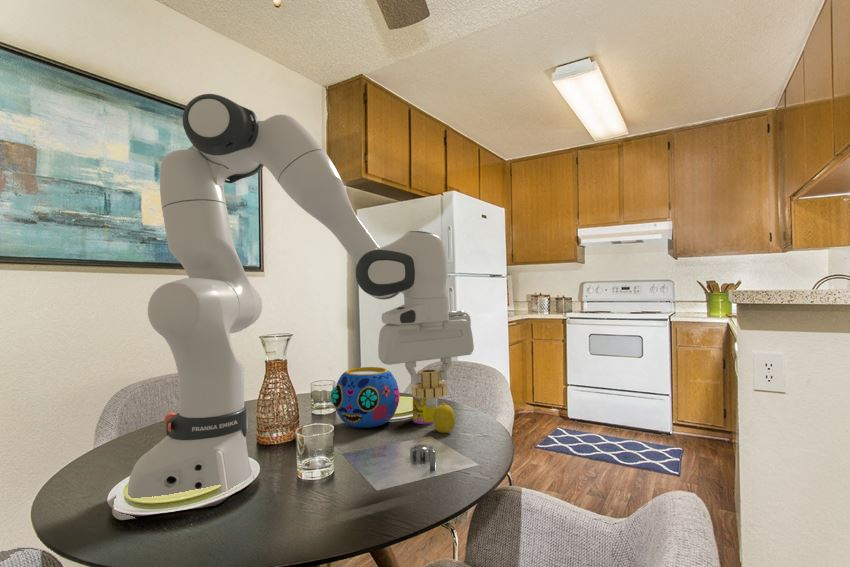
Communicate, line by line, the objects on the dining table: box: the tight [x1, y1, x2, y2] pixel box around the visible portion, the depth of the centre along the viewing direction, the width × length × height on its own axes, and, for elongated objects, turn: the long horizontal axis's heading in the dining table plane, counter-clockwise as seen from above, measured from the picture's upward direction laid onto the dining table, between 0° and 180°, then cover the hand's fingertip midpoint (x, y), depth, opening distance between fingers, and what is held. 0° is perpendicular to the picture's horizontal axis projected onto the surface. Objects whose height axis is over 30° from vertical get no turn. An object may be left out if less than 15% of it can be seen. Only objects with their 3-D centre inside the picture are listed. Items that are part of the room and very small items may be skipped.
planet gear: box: [411, 368, 448, 399], centre depth 86 cm, size 7×7×5 cm
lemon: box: [433, 402, 456, 434], centre depth 108 cm, size 6×6×8 cm
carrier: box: [341, 436, 480, 492], centre depth 90 cm, size 22×20×5 cm
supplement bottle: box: [412, 396, 438, 426], centre depth 117 cm, size 7×7×13 cm
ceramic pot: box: [330, 366, 400, 429], centre depth 116 cm, size 18×18×15 cm
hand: (429, 382), depth 86 cm, fingers closed on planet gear, 4 cm apart
